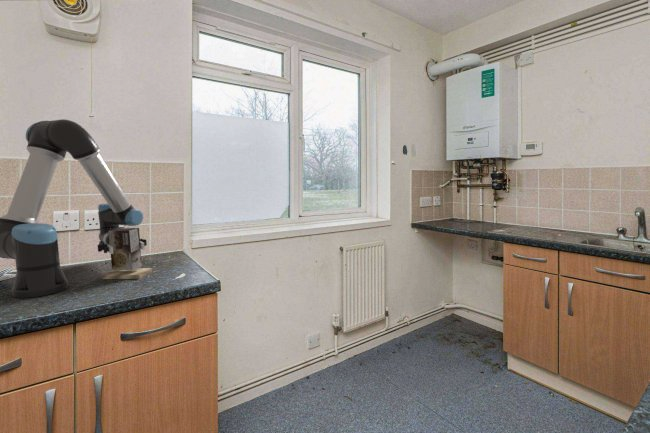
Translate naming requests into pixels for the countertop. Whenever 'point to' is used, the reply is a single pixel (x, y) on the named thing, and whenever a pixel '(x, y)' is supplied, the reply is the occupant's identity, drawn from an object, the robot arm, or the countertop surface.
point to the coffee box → (125, 248)
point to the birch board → (127, 274)
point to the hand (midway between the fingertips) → (128, 248)
